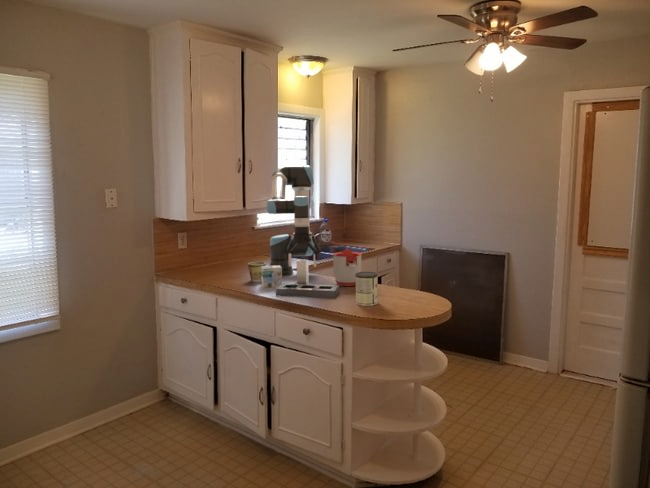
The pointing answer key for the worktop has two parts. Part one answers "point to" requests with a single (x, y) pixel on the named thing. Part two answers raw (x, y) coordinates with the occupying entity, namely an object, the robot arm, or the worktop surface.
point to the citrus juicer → (346, 267)
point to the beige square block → (302, 271)
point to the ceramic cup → (255, 270)
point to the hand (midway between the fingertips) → (302, 266)
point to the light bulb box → (271, 276)
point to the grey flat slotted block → (308, 290)
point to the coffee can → (366, 288)
